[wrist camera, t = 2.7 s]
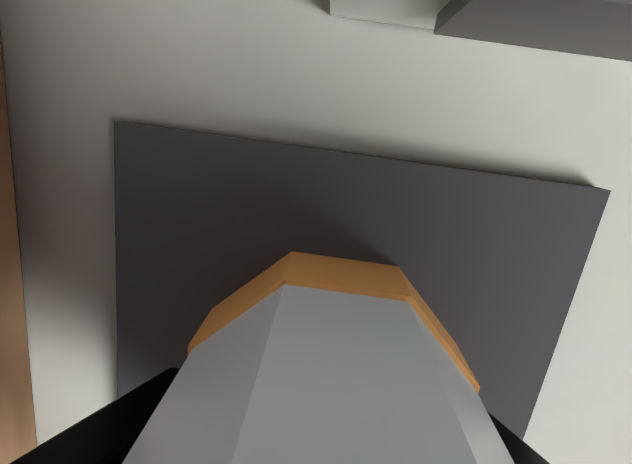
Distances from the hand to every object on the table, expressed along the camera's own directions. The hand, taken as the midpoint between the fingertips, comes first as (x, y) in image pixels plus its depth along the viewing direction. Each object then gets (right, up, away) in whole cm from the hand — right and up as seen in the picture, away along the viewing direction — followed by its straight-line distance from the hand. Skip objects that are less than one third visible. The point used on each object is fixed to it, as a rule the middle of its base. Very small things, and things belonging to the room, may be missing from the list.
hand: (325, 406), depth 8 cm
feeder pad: (0, 0, +2) cm, 2 cm away
